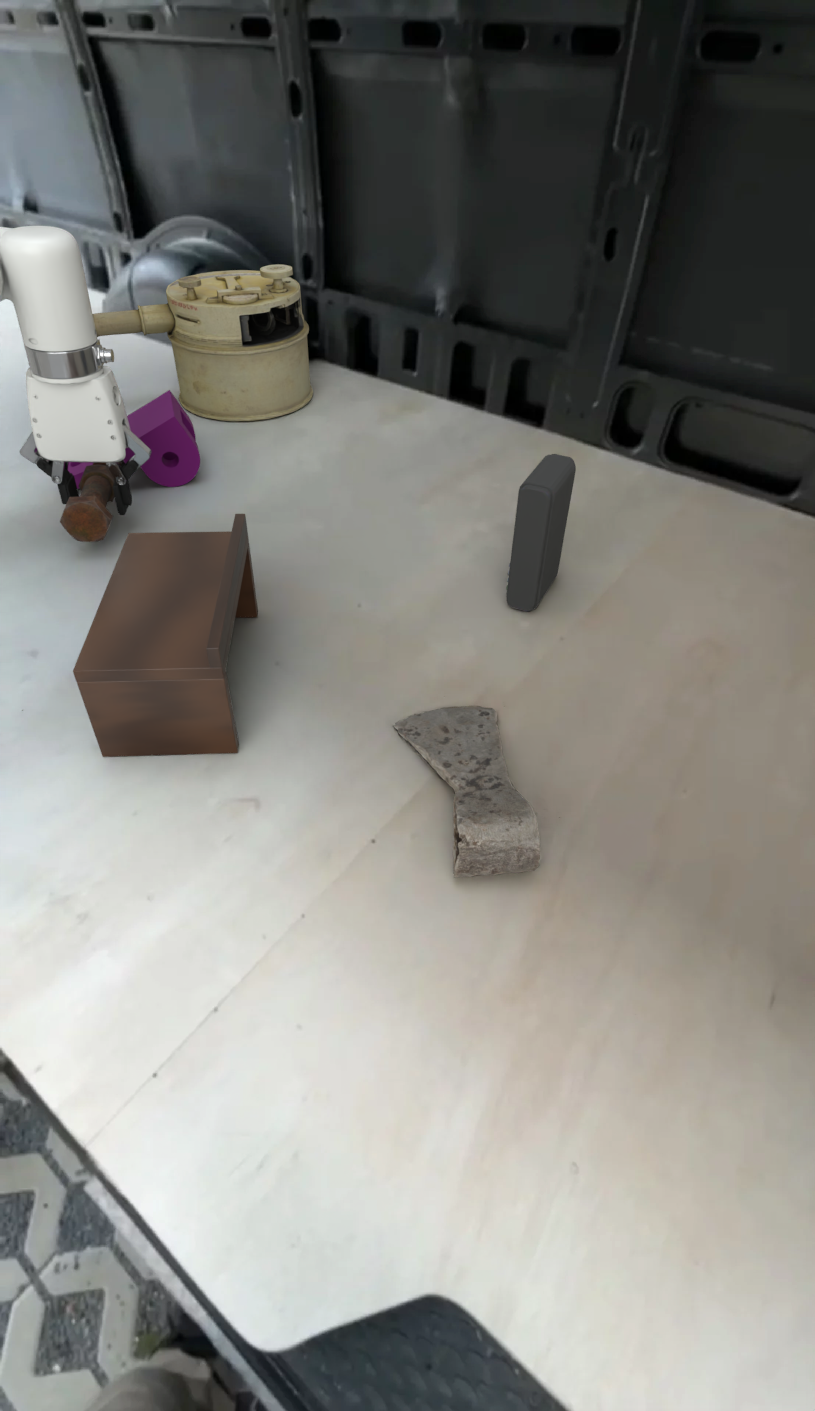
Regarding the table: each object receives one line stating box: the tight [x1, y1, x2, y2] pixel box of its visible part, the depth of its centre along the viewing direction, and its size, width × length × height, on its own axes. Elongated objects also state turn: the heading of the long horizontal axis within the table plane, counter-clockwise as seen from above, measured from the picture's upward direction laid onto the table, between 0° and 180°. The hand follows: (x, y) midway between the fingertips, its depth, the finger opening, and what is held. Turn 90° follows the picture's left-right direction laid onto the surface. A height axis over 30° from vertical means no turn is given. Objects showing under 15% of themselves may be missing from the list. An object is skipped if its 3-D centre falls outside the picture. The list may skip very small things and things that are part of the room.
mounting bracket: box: [68, 389, 201, 490], centre depth 110 cm, size 10×8×18 cm
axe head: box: [393, 705, 541, 878], centre depth 68 cm, size 21×5×10 cm
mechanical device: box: [92, 263, 314, 422], centre depth 125 cm, size 22×34×20 cm, turn 109°
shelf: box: [72, 513, 259, 758], centre depth 75 cm, size 12×22×12 cm, turn 3°
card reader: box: [505, 453, 577, 612], centre depth 86 cm, size 9×4×15 cm, turn 154°
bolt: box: [59, 462, 115, 543], centre depth 97 cm, size 6×5×15 cm
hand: (99, 508), depth 99 cm, fingers closed on bolt, 5 cm apart
